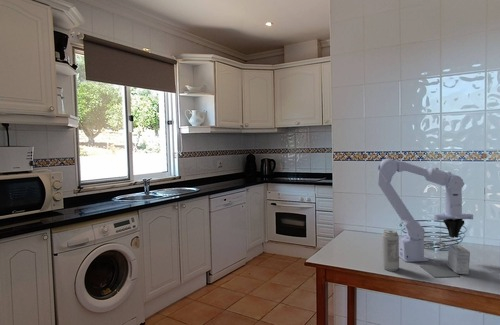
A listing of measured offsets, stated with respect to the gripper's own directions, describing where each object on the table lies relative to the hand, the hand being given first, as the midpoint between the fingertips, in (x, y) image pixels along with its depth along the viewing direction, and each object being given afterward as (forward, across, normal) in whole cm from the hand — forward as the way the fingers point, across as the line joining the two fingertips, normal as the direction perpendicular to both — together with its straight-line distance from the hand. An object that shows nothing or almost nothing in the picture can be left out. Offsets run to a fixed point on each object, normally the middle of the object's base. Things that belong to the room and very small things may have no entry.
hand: (453, 237), depth 132 cm
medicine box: (+10, -4, -10) cm, 15 cm away
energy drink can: (+10, -28, -6) cm, 30 cm away
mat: (+10, -12, -10) cm, 18 cm away
